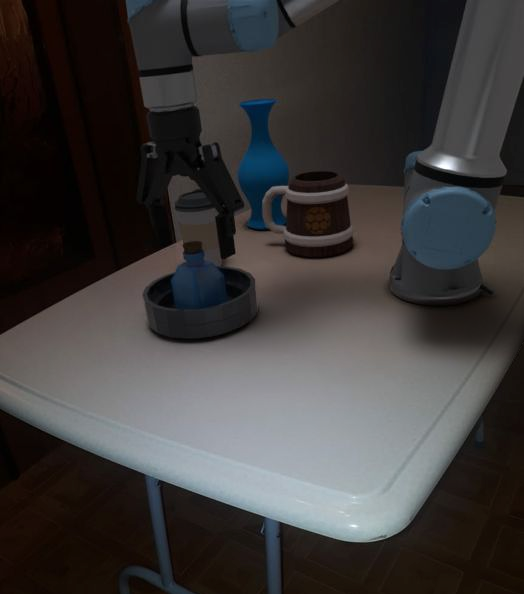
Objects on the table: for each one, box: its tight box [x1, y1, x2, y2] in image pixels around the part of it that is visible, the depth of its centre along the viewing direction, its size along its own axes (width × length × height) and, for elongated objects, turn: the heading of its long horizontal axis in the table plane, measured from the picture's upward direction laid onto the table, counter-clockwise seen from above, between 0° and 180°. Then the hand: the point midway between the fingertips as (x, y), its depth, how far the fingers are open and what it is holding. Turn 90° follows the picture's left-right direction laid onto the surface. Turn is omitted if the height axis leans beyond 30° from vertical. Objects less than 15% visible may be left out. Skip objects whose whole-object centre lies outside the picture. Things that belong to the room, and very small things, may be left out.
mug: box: [262, 170, 355, 258], centre depth 117 cm, size 20×15×15 cm
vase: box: [237, 98, 290, 230], centre depth 131 cm, size 12×13×28 cm
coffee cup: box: [174, 188, 223, 266], centre depth 113 cm, size 9×9×15 cm
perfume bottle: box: [171, 241, 227, 309], centre depth 91 cm, size 6×6×12 cm
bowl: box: [141, 265, 259, 340], centre depth 93 cm, size 19×19×6 cm
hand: (195, 251), depth 89 cm, fingers open, 13 cm apart
